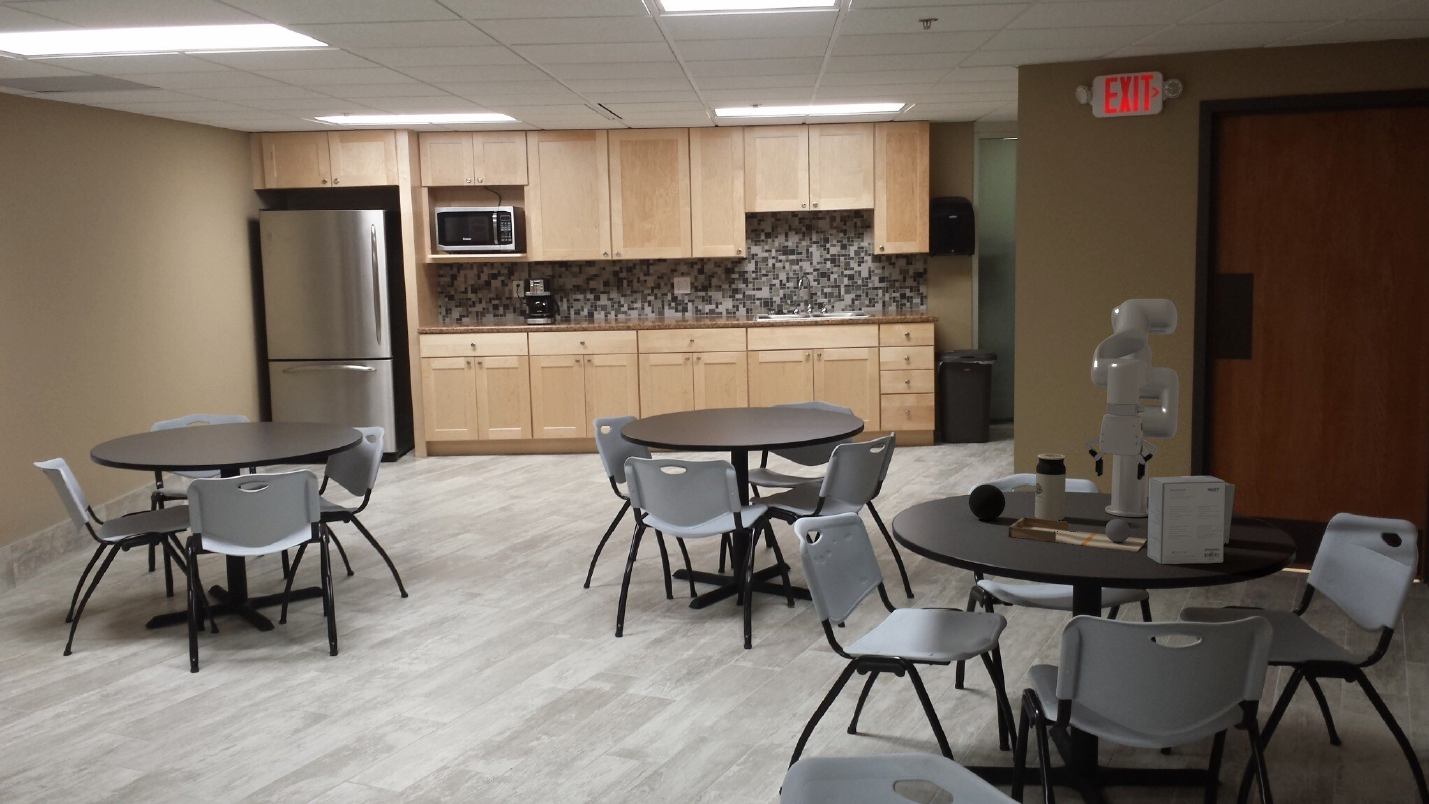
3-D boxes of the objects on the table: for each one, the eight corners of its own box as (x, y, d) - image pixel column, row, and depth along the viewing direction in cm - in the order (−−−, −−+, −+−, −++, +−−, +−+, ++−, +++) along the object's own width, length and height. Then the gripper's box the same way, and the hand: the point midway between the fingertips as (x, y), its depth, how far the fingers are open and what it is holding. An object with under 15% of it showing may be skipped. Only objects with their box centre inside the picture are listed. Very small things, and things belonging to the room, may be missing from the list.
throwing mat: (1022, 526, 294) (1023, 516, 294) (1146, 540, 278) (1147, 530, 277) (1008, 536, 282) (1008, 527, 282) (1137, 552, 266) (1137, 542, 266)
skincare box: (1185, 538, 279) (1188, 478, 277) (1207, 536, 282) (1210, 476, 280) (1211, 546, 271) (1214, 484, 270) (1232, 543, 274) (1236, 482, 272)
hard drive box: (1208, 555, 263) (1212, 475, 260) (1224, 563, 255) (1228, 481, 253) (1145, 556, 262) (1149, 476, 260) (1159, 564, 254) (1163, 482, 252)
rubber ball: (1107, 538, 279) (1108, 515, 278) (1131, 540, 276) (1132, 518, 275) (1102, 543, 274) (1103, 520, 273) (1127, 546, 271) (1128, 522, 270)
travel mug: (1060, 515, 307) (1062, 453, 305) (1067, 521, 299) (1069, 458, 297) (1032, 515, 308) (1034, 453, 305) (1037, 521, 300) (1039, 457, 298)
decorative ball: (996, 525, 295) (997, 489, 294) (962, 520, 301) (963, 485, 300) (1010, 518, 303) (1011, 483, 302) (977, 514, 309) (977, 480, 308)
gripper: (1161, 410, 270) (1158, 478, 271) (1090, 407, 278) (1087, 472, 280) (1156, 414, 263) (1153, 482, 265) (1083, 409, 272) (1081, 476, 274)
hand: (1119, 477), depth 273 cm, fingers open, 9 cm apart
